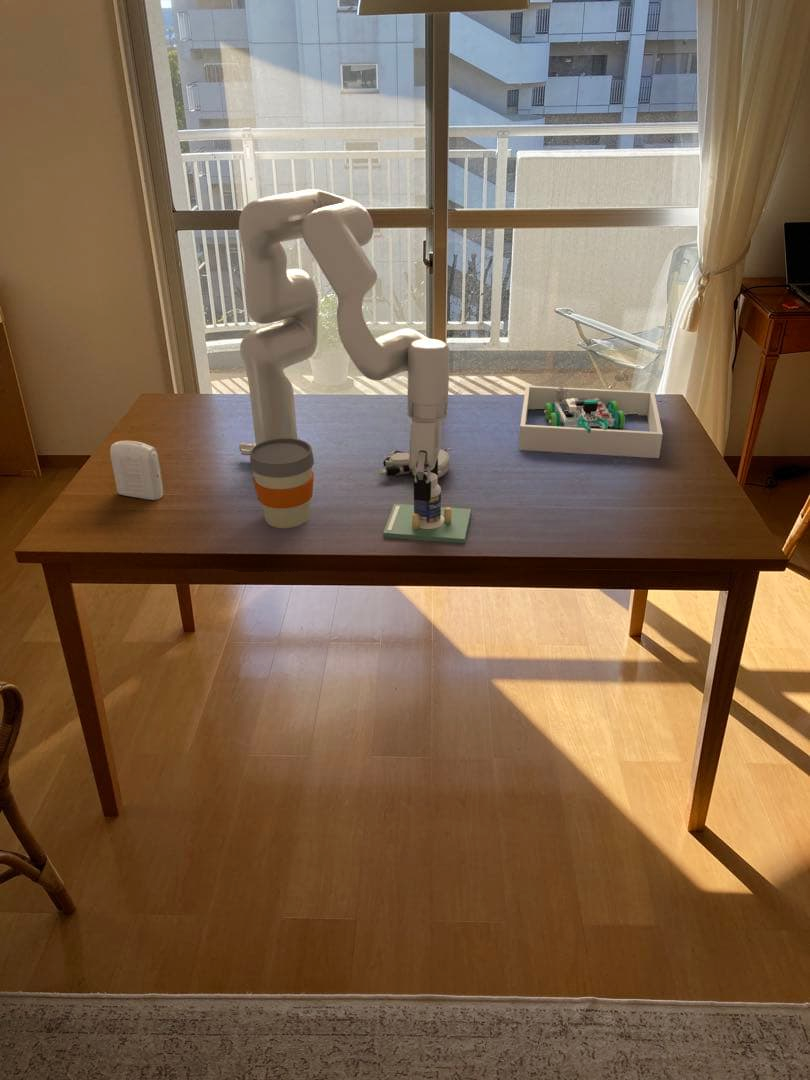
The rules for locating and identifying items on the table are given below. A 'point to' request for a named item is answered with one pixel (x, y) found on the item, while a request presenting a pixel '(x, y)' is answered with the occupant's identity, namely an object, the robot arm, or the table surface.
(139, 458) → the photo printer
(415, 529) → the board
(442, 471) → the robot toy
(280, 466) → the reusable coffee cup
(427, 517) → the pill bottle
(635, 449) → the storage frame
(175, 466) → the table surface
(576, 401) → the robot kit
